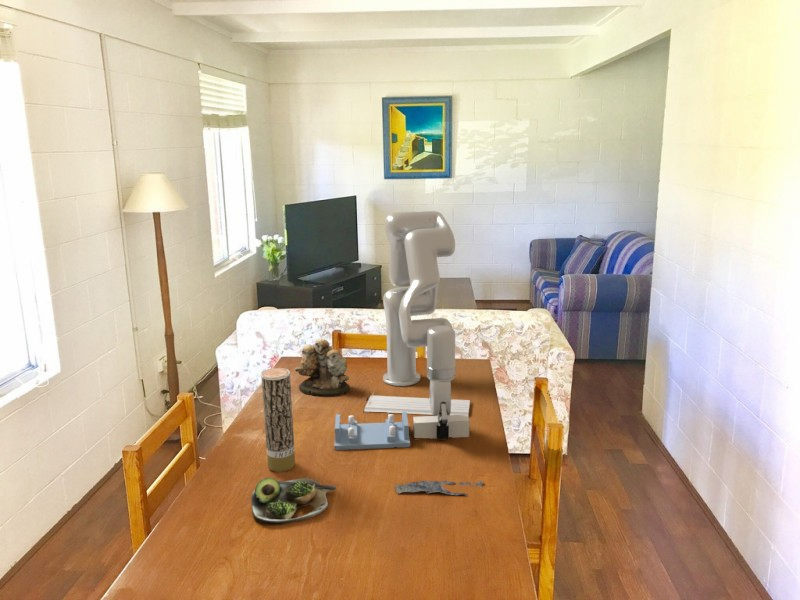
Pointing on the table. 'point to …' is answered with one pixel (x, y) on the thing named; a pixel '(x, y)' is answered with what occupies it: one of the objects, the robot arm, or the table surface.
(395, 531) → the table surface
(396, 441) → the rack
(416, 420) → the clay bar
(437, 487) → the driftwood
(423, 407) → the grooved white panel
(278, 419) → the paper tube
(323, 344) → the owl figurine
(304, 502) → the salad plate
